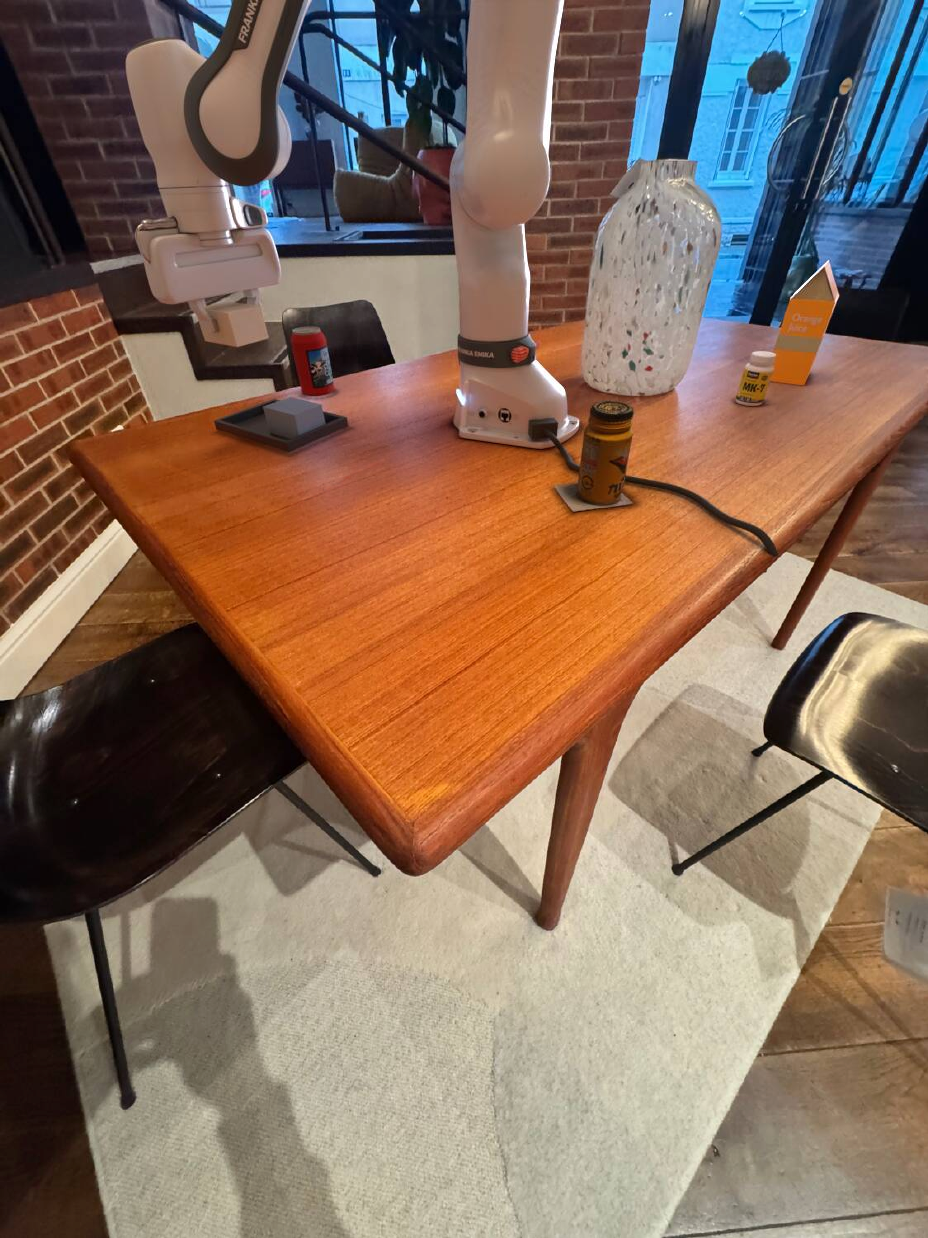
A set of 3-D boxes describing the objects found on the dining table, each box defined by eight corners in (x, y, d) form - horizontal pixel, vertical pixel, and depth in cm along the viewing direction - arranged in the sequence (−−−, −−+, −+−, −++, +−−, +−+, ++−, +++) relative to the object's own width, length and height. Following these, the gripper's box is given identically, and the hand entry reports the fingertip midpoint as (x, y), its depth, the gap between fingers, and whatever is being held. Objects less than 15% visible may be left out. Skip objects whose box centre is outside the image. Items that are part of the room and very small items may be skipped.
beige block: (269, 338, 82) (260, 305, 79) (237, 347, 78) (227, 312, 75) (236, 333, 85) (227, 301, 82) (204, 341, 82) (194, 308, 79)
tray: (349, 428, 93) (347, 416, 92) (289, 455, 85) (286, 442, 84) (277, 409, 102) (274, 398, 101) (217, 432, 94) (213, 420, 93)
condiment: (632, 504, 70) (651, 413, 62) (572, 512, 68) (584, 420, 61) (609, 480, 75) (624, 394, 67) (553, 488, 74) (561, 400, 66)
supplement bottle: (734, 404, 97) (749, 356, 92) (734, 397, 101) (749, 349, 95) (762, 407, 96) (779, 357, 90) (762, 399, 99) (778, 351, 94)
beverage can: (327, 399, 106) (315, 333, 98) (297, 398, 107) (282, 333, 99) (340, 389, 111) (329, 325, 103) (310, 387, 112) (297, 325, 104)
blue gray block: (326, 430, 91) (321, 404, 88) (300, 442, 88) (294, 414, 85) (296, 422, 95) (290, 396, 92) (269, 432, 91) (262, 406, 88)
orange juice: (809, 374, 110) (853, 259, 97) (804, 385, 105) (850, 266, 92) (769, 369, 114) (806, 258, 101) (762, 380, 108) (800, 264, 95)
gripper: (143, 220, 64) (186, 345, 73) (275, 209, 76) (297, 317, 85) (116, 220, 67) (160, 340, 76) (247, 209, 79) (271, 313, 88)
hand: (234, 327), depth 81 cm, fingers closed on beige block, 6 cm apart
